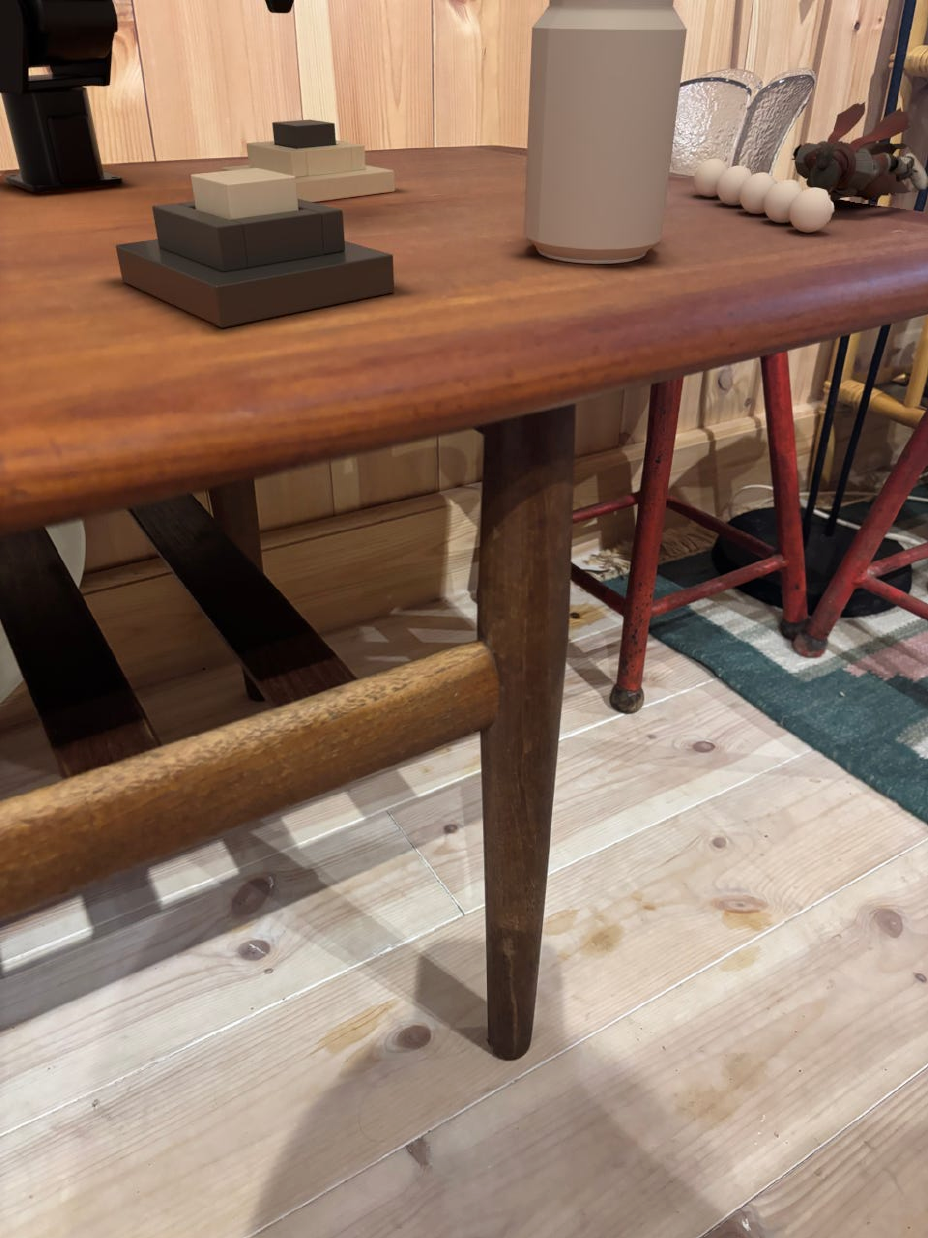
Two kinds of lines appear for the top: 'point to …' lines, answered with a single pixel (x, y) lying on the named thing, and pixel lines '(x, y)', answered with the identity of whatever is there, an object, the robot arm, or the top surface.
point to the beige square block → (244, 193)
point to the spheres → (765, 195)
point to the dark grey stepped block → (253, 263)
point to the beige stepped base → (322, 169)
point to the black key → (304, 134)
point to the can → (601, 127)
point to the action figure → (860, 160)
